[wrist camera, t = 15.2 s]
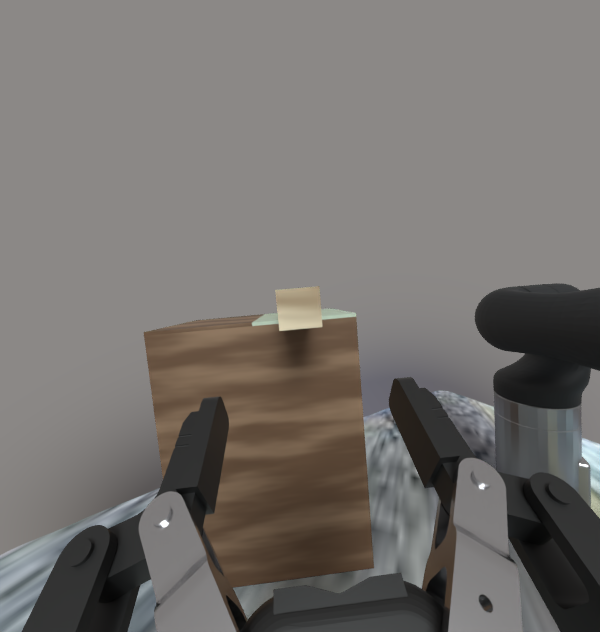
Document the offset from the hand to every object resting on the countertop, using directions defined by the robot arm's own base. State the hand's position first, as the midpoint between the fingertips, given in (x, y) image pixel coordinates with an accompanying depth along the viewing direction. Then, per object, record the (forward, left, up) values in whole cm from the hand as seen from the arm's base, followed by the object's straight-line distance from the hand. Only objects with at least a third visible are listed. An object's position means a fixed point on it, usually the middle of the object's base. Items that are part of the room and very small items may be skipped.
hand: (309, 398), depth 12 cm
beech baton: (+10, -17, +2) cm, 20 cm away
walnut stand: (+17, -19, -30) cm, 39 cm away
